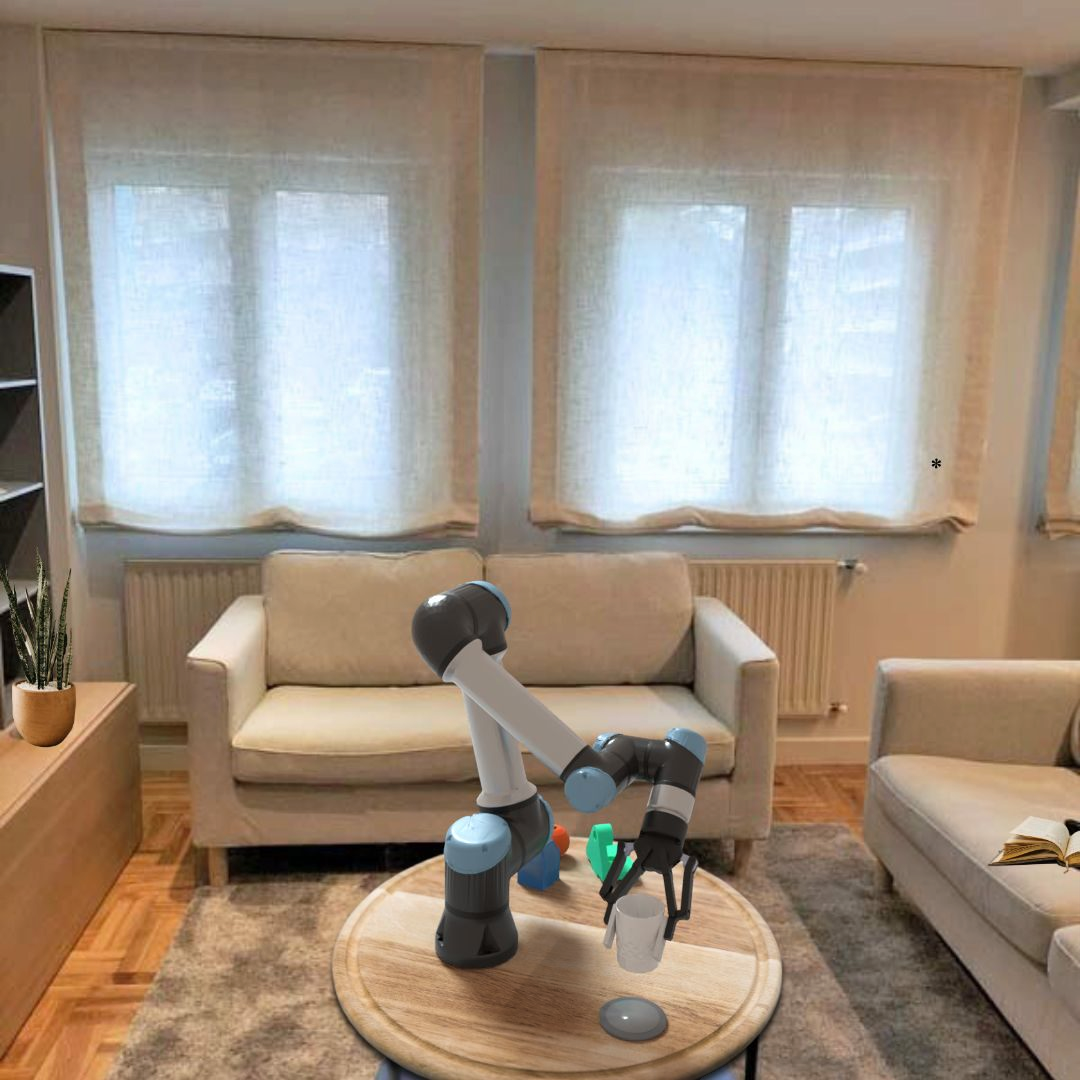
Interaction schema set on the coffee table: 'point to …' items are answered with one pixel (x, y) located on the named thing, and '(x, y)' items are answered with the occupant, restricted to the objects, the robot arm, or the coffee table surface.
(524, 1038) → the coffee table surface
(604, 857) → the camera mount
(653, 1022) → the coaster
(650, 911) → the white cup
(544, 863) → the perfume bottle
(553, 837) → the clementine
